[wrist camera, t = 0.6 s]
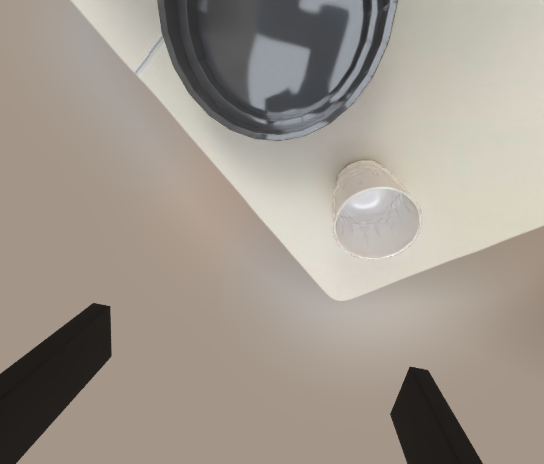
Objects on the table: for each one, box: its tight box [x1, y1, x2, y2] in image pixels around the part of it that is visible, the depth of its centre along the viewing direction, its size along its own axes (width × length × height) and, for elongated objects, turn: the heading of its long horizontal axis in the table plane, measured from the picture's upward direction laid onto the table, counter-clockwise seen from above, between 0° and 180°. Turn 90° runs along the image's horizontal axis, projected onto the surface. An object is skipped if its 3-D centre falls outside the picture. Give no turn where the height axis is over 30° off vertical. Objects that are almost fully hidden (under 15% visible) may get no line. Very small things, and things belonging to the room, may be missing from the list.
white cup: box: [333, 160, 422, 260], centre depth 29 cm, size 8×8×10 cm
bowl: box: [157, 0, 398, 141], centre depth 24 cm, size 19×19×6 cm
